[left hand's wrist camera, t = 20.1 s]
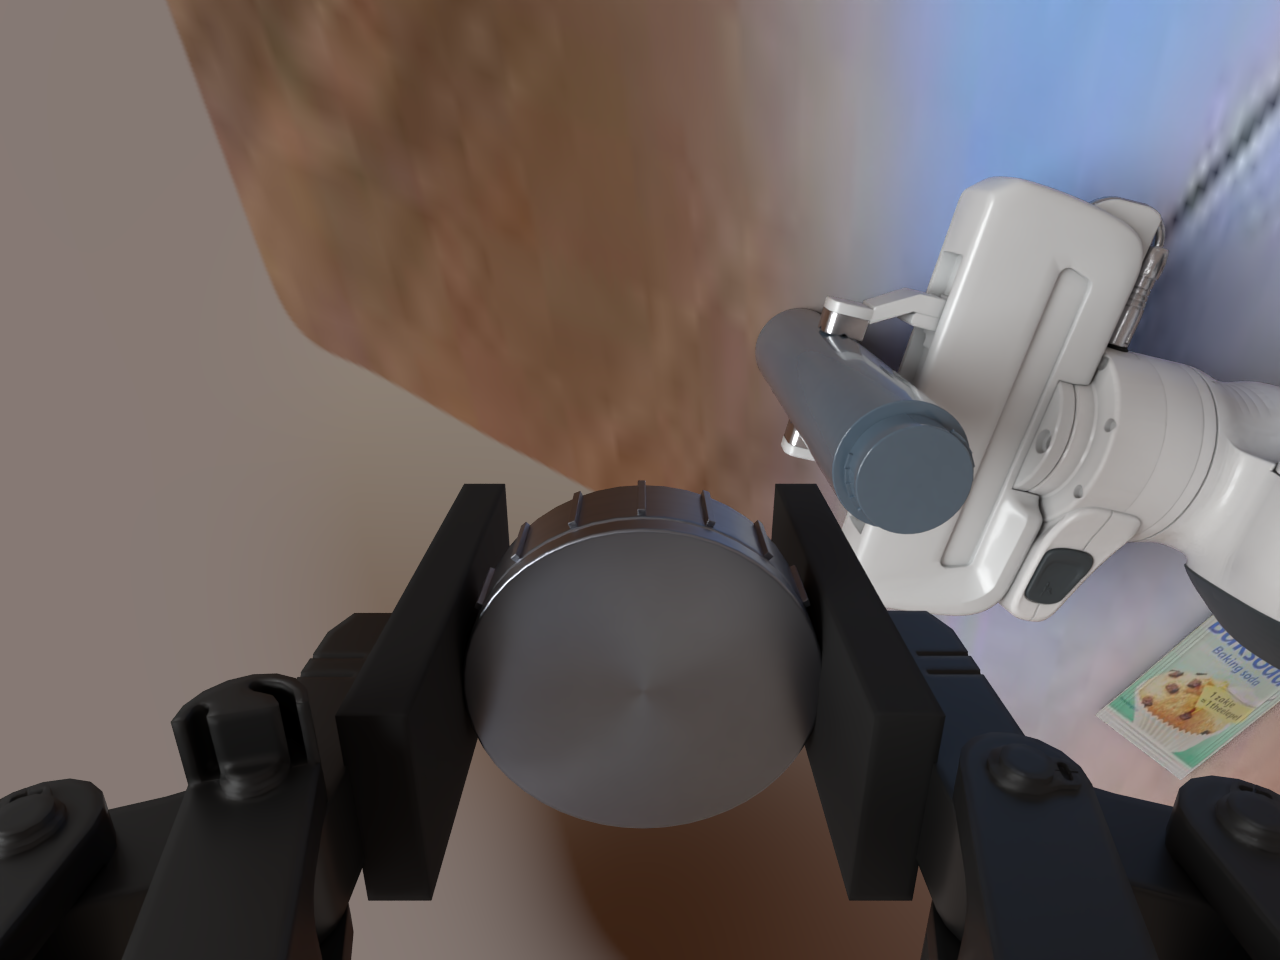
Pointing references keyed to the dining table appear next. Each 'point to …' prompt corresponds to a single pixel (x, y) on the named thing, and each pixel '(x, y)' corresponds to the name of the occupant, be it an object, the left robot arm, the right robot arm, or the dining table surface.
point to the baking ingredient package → (1194, 699)
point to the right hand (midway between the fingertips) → (804, 376)
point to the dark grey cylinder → (866, 426)
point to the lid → (642, 658)
